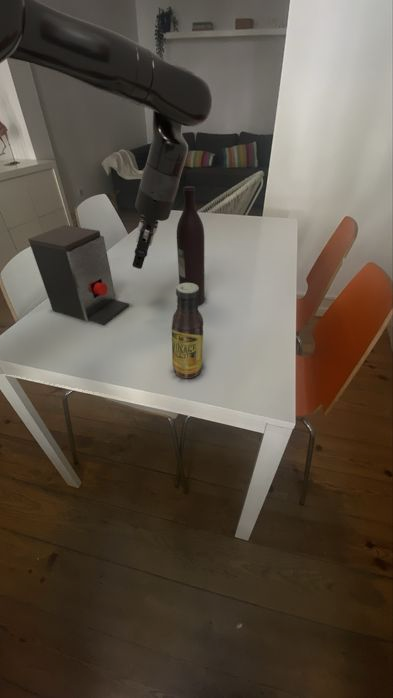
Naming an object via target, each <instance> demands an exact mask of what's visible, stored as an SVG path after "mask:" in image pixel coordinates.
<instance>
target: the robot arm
mask: <svg viewBox="0 0 393 698" xmlns="http://www.w3.org/2000/svg"><path fill="white" fill-rule="evenodd" d="M7 59H9V60H14V61H20V62H23V63H27V64H30V65H31V64H32V65H34V66H37V67H39V68H40V67H41V68H44V69H47V70H50V71H52V72H56V73H58V74H61V75H62V76H65V77H69V78H70V79H73V80H75V81H77V82H79V83H82V84H85V85H86V86H89V87H91V88H94V89H95V90H98V91H101V92H102V93H105V94H108V95H110V96H113V97H115V98H117V99H120V100H122V101H126V102H128V103H131V104H133V105H136V106H139V107H143V108H147V109H149V110H151V111H152V139H151V143H150V147H149V150H148V154H147V159H146V163H145V166H144V168H143V171H142V174H141V179H140V183H139V187H138V191H137V195H136V200H135V205H134V207H135V209H136V211H137V212H138V213H139V214H141V217H140V220H139V223H138V231H137V235H136V239H135V241H136V243H137V244H136V248H135V249H134V257H133V261H132V267H133V268H136V269H139V270H141V269H143V265H144V262H145V259H146V257H148V251H149V248H150V247H151V246H152V244H153V240H154V237H155V234H156V233H157V231H158V225H159V221H160V222H165V221H167V220H168V219H169V218H170V215H171V211H172V208H173V205H174V203H175V199H176V196H177V193H178V190H179V187H180V185H179V184H180V180H181V177H182V173H183V170H184V167H185V164H186V160H187V156H188V153H189V145H188V142H187V141H186V139H185V138H184V136H183V126H185V127H187V128H194V127H198V126H201V125H202V124H204V122H206V121H207V119H208V118H209V117H210V115H211V113H212V109H213V104H214V103H213V93H212V90H211V88H210V86H209V84H208V83H207V81H206V80H205V79H204V78H202V77H201V76H200V75H197V74H196V73H195V72H193V71H191V70H189V68H187V67H185V66H183V65H181V64H178V63H172V64H171V63H170V62H168V61H166V60H164V59H163V58H162V57H160V56H159V55H158V54H156V53H155V52H154V51H152V50H151V49H149V48H147V47H145V45H142V44H140V43H138V42H136V41H135V40H132V39H130V38H128V37H126V36H124V35H123V34H121V33H118V32H115V31H114V30H111V29H108V28H105V27H103V26H101V25H98V24H95V23H93V22H89V21H87V20H83V19H81V18H78V17H75V16H72V15H70V14H67V13H64V12H62V11H60V10H57V9H55V8H53V7H51V6H48V5H46V4H44V3H42V2H40V1H38V0H0V64H2V63H4V61H6V60H7Z"/></svg>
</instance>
